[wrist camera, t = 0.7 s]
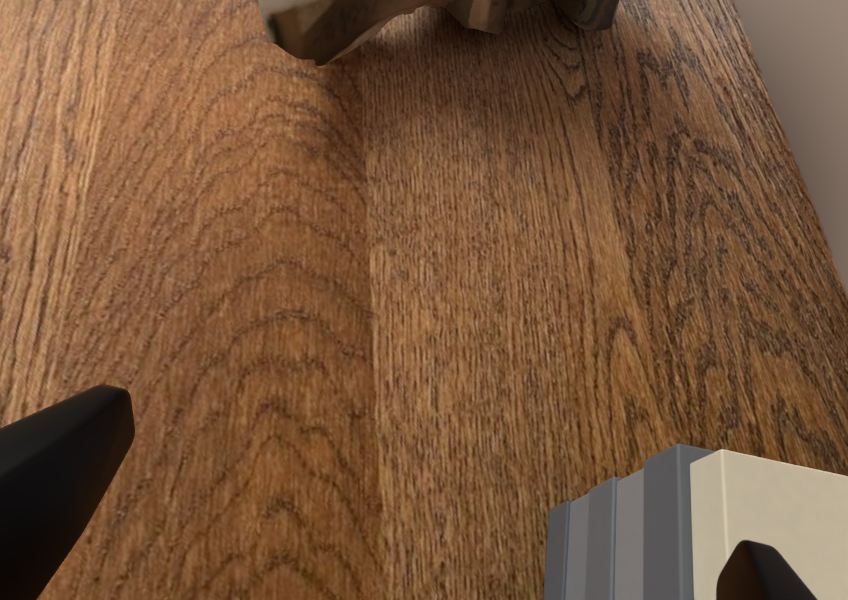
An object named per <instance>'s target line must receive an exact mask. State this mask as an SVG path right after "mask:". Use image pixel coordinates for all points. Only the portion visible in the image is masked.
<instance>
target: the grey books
mask: <svg viewBox="0 0 848 600" xmlns="http://www.w3.org/2000/svg"><path fill="white" fill-rule="evenodd" d="M714 452H716V451H712V450H707V449H702V448H698V447H693V446H688V445H684V444H675V445H674V446H672V447H670V448H668V449H666V450H664V451H662V452H660V453H658V454H656V455H654V456H653V457H651V458H649V459H647V460H645V461H644V468H643V469H641V470H639V471H637V472H635V473H633V474H631V475H629V476H628V477H626V478H624V479H622V478H618V477H612V478H610V479H608V480H607V481H605V482H603V483H601V484H599V485H597V486H595V487H593V488H591V489H590V491H589V493H588V494H586V495H584V496H582V497H580V498H578V499H576V500H574V501H566V502H564V503H562V504H560V505H558V506H556V507H554V508H552V509H551V510H550V511H549V525H548V540H547V555H546V569H545V584H544V599H543V600H694V582H693V549H692V516H691V484H690V464H691V463H693V462H695V461H697V460H699V459H701V458H703V457H706V456H708V455H710V454H712V453H714Z"/></svg>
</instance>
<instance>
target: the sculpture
mask: <svg viewBox="0 0 848 600" xmlns="http://www.w3.org/2000/svg"><path fill="white" fill-rule="evenodd" d="M546 1H548V0H259V1H258V3H259V7H260V11H261V14H262V18H263V22H264V26H265V30H266V34H267V38H268V41H269V42H272V43H274V44H277V45H278V46H279V47H281V48H282V49H283V50H285V51H286V52H287V53H289V54H291V55H292V56H294V57H296V58H299V59H314V60H315V61H316V65H318V66H322V65H325V64H328V63H330V62H332V61H334V60H336V59H338V58H340V57H342V56H344V55H346V54H347V53H349V52H350V51H352V50H353V49H355V48H356V47H358V46H359V45H361V44H362V43H364V42H365V41H367V40H368V39H370V38H371V37H373V36H374V35H376V34H377V33H378V32H379V31H380V30H381V29H382V28H383V27H384V26H385V24H386V23H387V22H388V21H389V20H391V19H392V18H394V17H396V16H398V15H400V14H411V13H413V12H414V11H415V10H416V9H417V8H418V7H421V6H423V5H427V6H430V7H433V8H438V7H443V8H445V9H446V10H447V11H448V12H449V13H450V14H451V15H452V16H453V17H454V18H455V19H457V20H458V21H459V22H460V23H461V24H462V25H463V26H464V27H465V28H466V29H478V30H482V31H485V32H489V33H494V34H499V33H500V32H502V31H503V28H504V22H505V16H506V11H508V12H516V11H521V10H525V9H529V8H531V7H533V6H536V5H538V4H541V3H543V2H546ZM556 2H557V3H558V5H559V6H560V7H561V9H562V10H563V11H564V13H565V14H566V15H567V17H568V18H569V19H570V20H571V21H572V22H573V23H574V24H575V25H577V26H578V27H580V28H582V29H584V30H586V31H598V30H606V29H609V28H611V27H612V25H613V22H614V20H615V17H616V13H617V8H618V4H619V0H556Z"/></svg>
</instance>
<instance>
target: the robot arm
mask: <svg viewBox="0 0 848 600" xmlns="http://www.w3.org/2000/svg"><path fill="white" fill-rule="evenodd" d="M134 435H135V426H134V418H133V410H132V403H131V397H130V394H129V392H128V391H127V390H125V389H122V388H118V387H114V386H110V385H105V384H101V385H97V386H95V387H92V388H90V389H88V390H86V391H83V392H81V393H79V394H77V395H74V396H72V397H70V398H68V399H65V400H63V401H61V402H59V403H56V404H54V405H52V406H50V407H47V408H45V409H43V410H41V411H38V412H36V413H34V414H32V415H29V416H27V417H25V418H23V419H21V420H18V421H16V422H14V423H12V424H9V425H7V426H5V427H3V428H0V600H37V598H38V597H39V595H40V594H41V592H42V591H43V590H44V588H45V587H46V585H47V584H48V582H49V581H50V579H51V578H52V577H53V575H54V574H55V572H56V571H57V569H58V568H59V567H60V565H61V564H62V562H63V561H64V559H65V558H66V557H67V555H68V554H69V552H70V551H71V549H72V548H73V546H74V545H75V543H76V542H77V540H78V539H79V537H80V536H81V534H82V533H83V531H84V529H85V528H86V526H87V524H88V523H89V521H90V519H91V517H92V516H93V514H94V512H95V510H96V508H97V506H98V505H99V503H100V501H101V499H102V497H103V496H104V494H105V492H106V490H107V488H108V487H109V485H110V483H111V481H112V479H113V477H114V476H115V474H116V472H117V470H118V468H119V467H120V465H121V463H122V461H123V459H124V458H125V456H126V454H127V452H128V450H129V448H130V447H131V445H132V442H133V439H134ZM716 600H818V599H817V598H816V597H815V596H814V594H813V593H812V592H811V591H810V590H809V588H808V587H807V586H806V585H805V583H804V582H803V581H802V580H801V579H800V577H799V576H798V575H797V574H796V572H795V571H794V570H793V569H792V567H791V566H790V565H789V564H788V563H787V561H786V560H785V559H784V558H783V556H782V555H781V554H780V553H779V552H778V551H777V550H776V549H775V548H774V547H772V546H770V545H767V544H763V543H758V542H754V541H750V540H742V541H740V542H739V543H738V544H737V546H736V547H735V549H734V551H733V552H732V554H731V556H730V557H729V559H728V561H727V562H726V564H725V566H724V568H723V569H722V571H721V573H720V575H719V577H718V580H717V586H716Z"/></svg>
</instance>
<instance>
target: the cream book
mask: <svg viewBox="0 0 848 600" xmlns="http://www.w3.org/2000/svg"><path fill="white" fill-rule="evenodd" d="M690 484H691V516H692V549H693V582H694V600H716V586H717V580H718V577H719V575H720V573H721V571H722V569H723V568H724V566H725V564H726V562H727V561H728V559H729V557H730V556H731V554H732V552H733V551H734V549H735V547H736V546H737V544H738V543H739V542H740V541H742V540H750V541H754V542H758V543H763V544H767V545H770V546H772V547H774V548H775V549H776V550H777V551H778V552H779V553H780V554H781V555H782V556H783V558H784V559H785V560H786V561H787V563H788V564H789V565H790V566H791V567H792V569H793V570H794V571H795V572H796V574H797V575H798V576H799V577H800V579H801V580H802V581H803V582H804V583H805V585H806V586H807V587H808V588H809V590H810V591H811V592H812V593H813V594H814V596H815V597H816V598H817V599H818V600H848V476H844V475H839V474H835V473H830V472H825V471H821V470H816V469H811V468H807V467H802V466H797V465H793V464H788V463H784V462H779V461H774V460H770V459H765V458H760V457H756V456H751V455H746V454H742V453H737V452H732V451H728V450H723V449H722V450H719V451H717V452H714V453H712V454H710V455H708V456H706V457H703V458H701V459H699V460H697V461H695V462H693V463H691V464H690Z"/></svg>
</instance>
